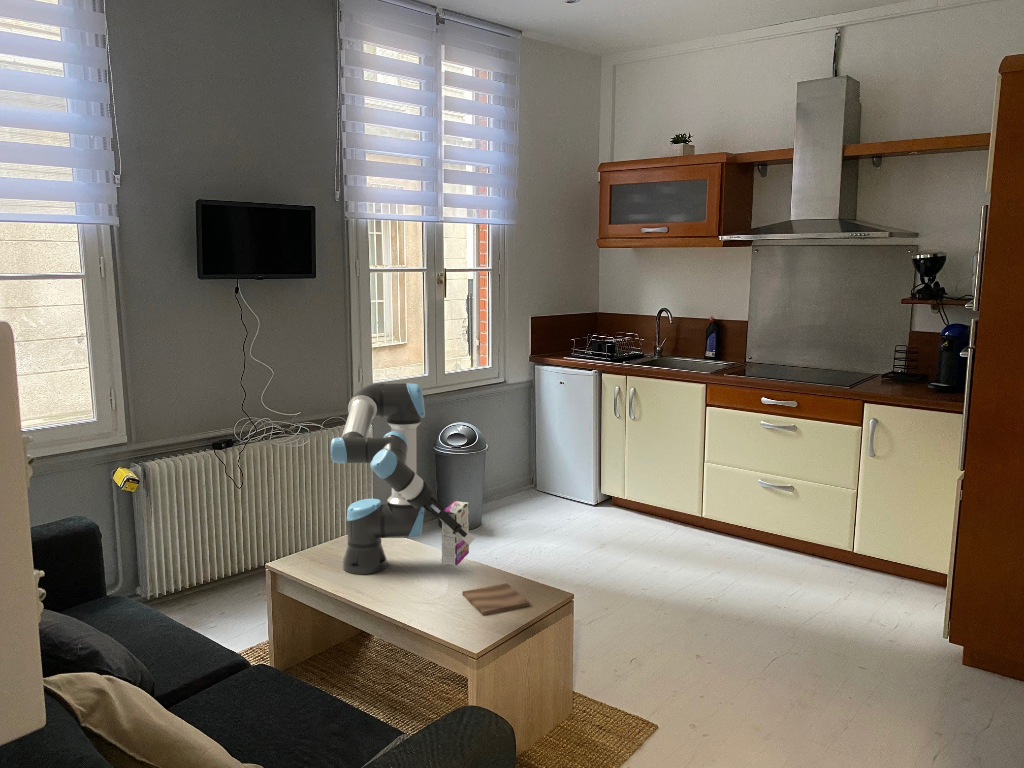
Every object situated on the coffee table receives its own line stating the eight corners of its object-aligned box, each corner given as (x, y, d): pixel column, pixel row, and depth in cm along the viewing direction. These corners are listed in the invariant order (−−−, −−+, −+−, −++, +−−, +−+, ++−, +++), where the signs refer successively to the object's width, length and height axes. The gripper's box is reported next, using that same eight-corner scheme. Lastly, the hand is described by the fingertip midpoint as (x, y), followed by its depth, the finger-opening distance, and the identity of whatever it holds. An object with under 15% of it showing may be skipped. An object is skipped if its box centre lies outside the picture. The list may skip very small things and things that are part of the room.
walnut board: (462, 595, 253) (462, 591, 253) (507, 586, 260) (507, 583, 260) (482, 615, 239) (482, 611, 239) (529, 606, 246) (529, 602, 246)
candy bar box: (453, 551, 243) (454, 500, 240) (469, 553, 241) (469, 502, 239) (440, 564, 232) (440, 511, 230) (456, 566, 231) (456, 513, 228)
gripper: (394, 489, 237) (441, 531, 246) (419, 512, 216) (470, 558, 226) (410, 470, 239) (457, 513, 248) (437, 492, 218) (488, 537, 227)
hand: (464, 534), depth 237 cm, fingers closed on candy bar box, 11 cm apart
